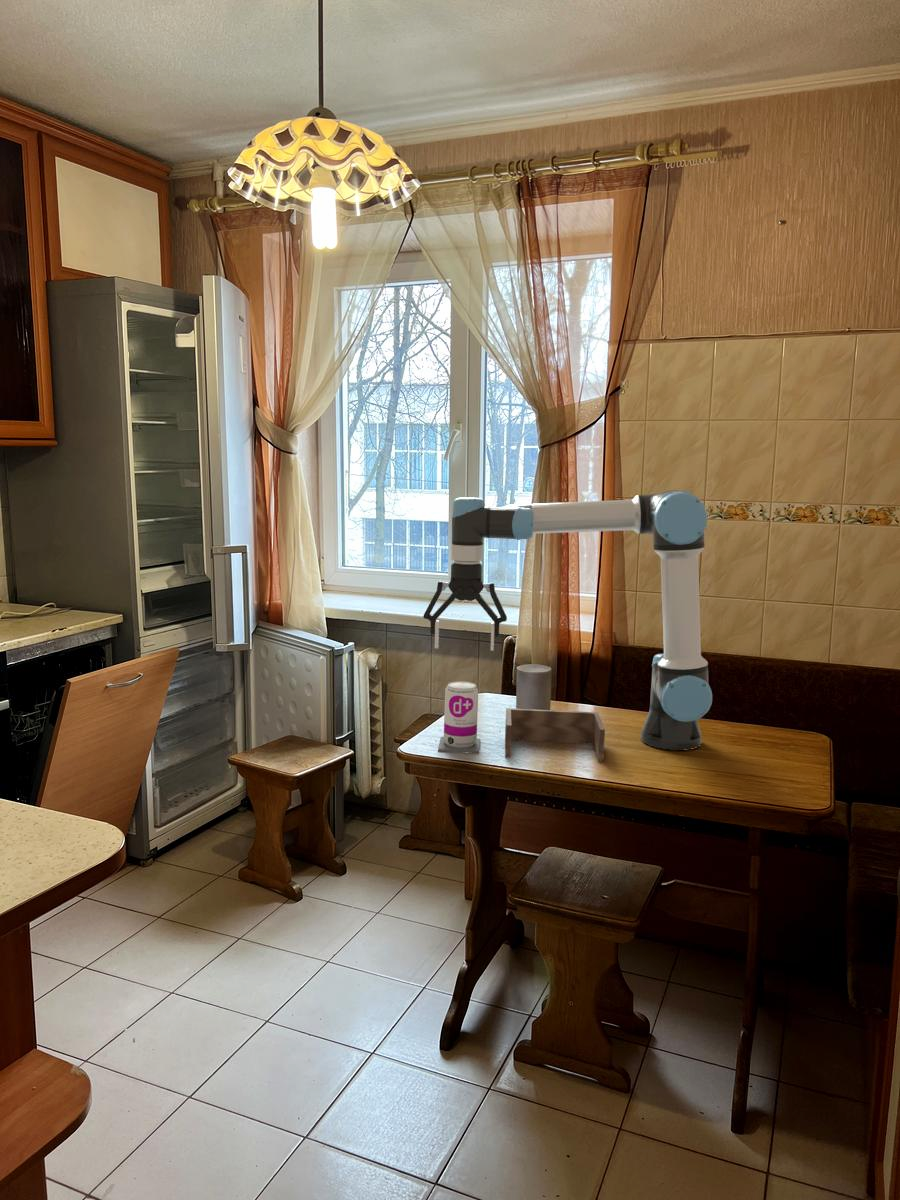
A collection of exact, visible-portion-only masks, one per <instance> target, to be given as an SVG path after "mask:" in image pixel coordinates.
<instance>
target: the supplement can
mask: <svg viewBox="0 0 900 1200" xmlns="http://www.w3.org/2000/svg"><path fill="white" fill-rule="evenodd" d="M478 708H479V689H478V688H477V685H476V684H475V683H474V682H469V681H452V682H449V683H448V684H447V686H446V687H445V689H444V714H443V715H444V716H443V717H444V719H443V720H444V721H443V722H444V723H443V737H444V742H445V743H446V744H447V745H448V746H450V747H455V748H468V747H471V746H473V745H474V744H475V743H476V742H477V737H478V736H477V735H478V733H477V732H478V712H479V709H478Z"/></svg>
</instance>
